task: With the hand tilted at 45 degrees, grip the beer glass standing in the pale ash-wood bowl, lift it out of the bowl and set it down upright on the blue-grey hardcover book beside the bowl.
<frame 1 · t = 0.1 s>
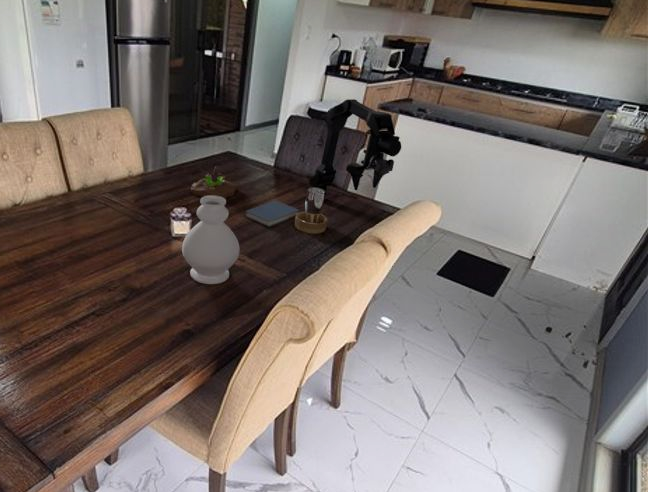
hand: (364, 188, 181), 15 cm above the table, tool pointing down, fingers open, 9 cm apart
wooden bowl: (310, 226, 183), on the table
plant: (214, 191, 210), on the table
book: (272, 215, 189), on the table
beer glass: (310, 227, 183), resting in wooden bowl
decorative vase: (209, 274, 147), on the table
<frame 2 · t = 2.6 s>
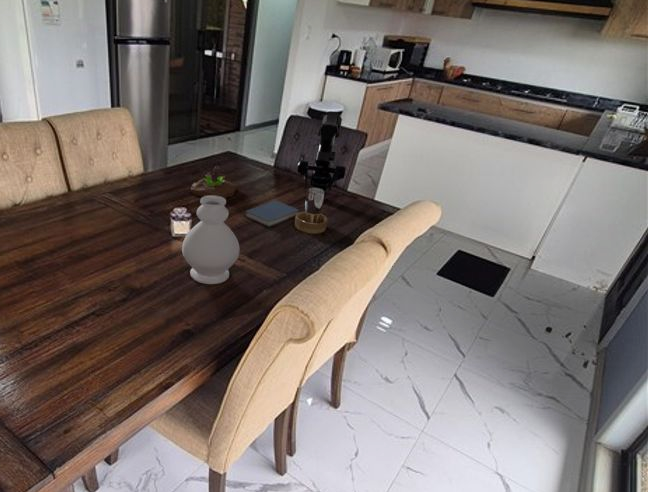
hand: (317, 188, 181), 13 cm above the table, tool tilted 45°, fingers open, 9 cm apart
nothing on the table moved.
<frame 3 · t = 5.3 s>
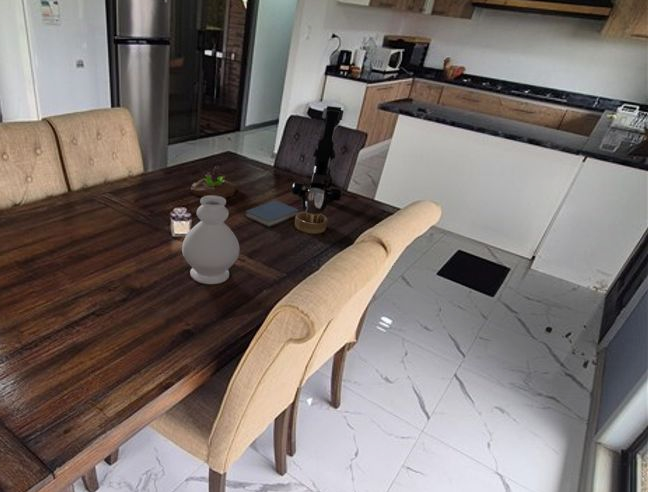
hand: (312, 211, 178), 7 cm above the table, tool tilted 45°, fingers closed on beer glass, 6 cm apart
beer glass: (310, 227, 183), resting in wooden bowl, touching gripper
everything else where it was.
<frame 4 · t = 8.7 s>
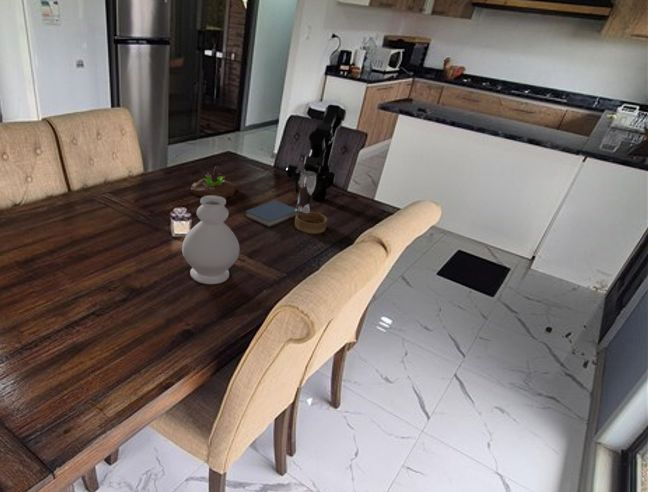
hand: (304, 194, 175), 13 cm above the table, tool tilted 45°, fingers closed on beer glass, 6 cm apart
beer glass: (302, 211, 181), point 6 cm above the table, touching gripper
everything else where it was.
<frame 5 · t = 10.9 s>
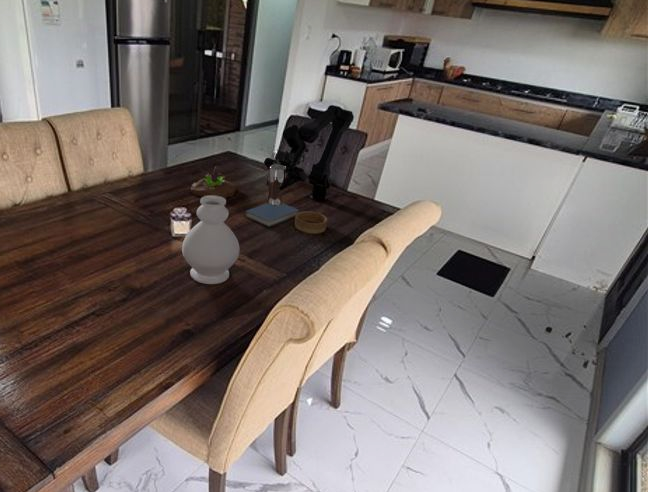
hand: (273, 187, 182), 13 cm above the table, tool tilted 45°, fingers closed on beer glass, 6 cm apart
beer glass: (274, 203, 187), point 5 cm above the table, touching gripper
everything else where it was.
when the fingers open (10 cm above the table, at t = 12.4 s): beer glass stays where it is, resting on book.
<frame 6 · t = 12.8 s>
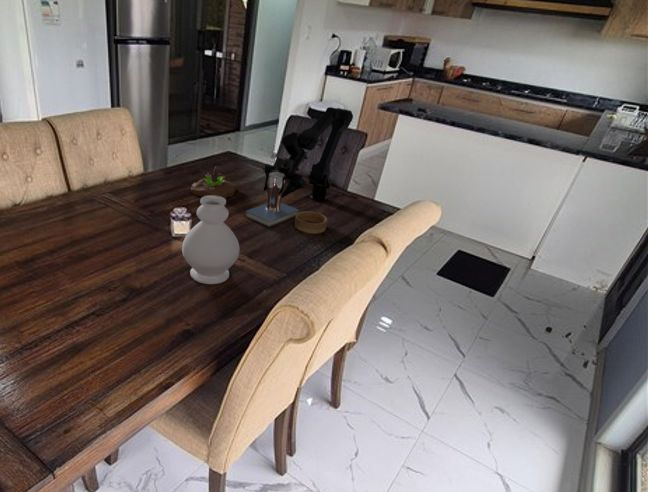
hand: (272, 193, 183), 10 cm above the table, tool tilted 45°, fingers open, 9 cm apart
beer glass: (273, 210, 188), point 2 cm above the table, touching book, gripper
everything else where it was.
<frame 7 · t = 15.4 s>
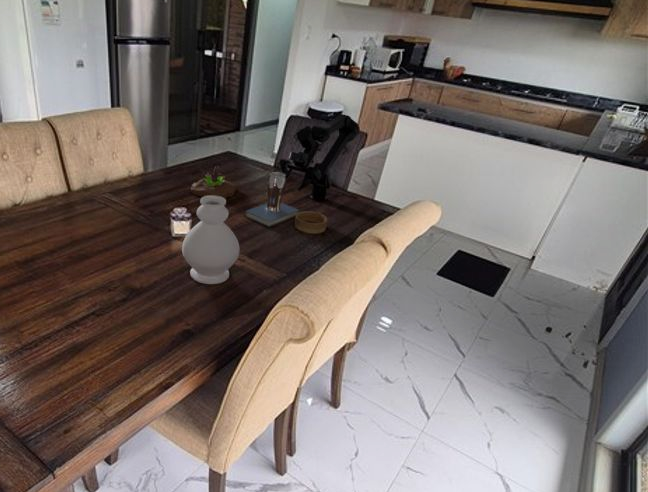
hand: (289, 187, 188), 11 cm above the table, tool tilted 40°, fingers open, 9 cm apart
beer glass: (273, 210, 188), point 2 cm above the table, touching book
everything else where it was.
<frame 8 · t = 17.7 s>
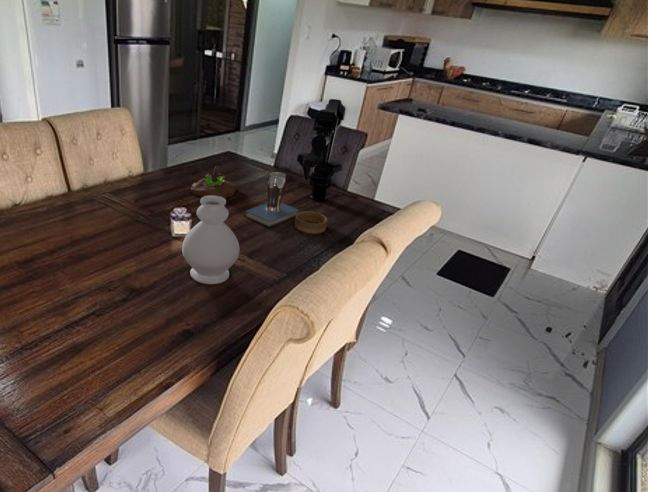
hand: (315, 183, 189), 12 cm above the table, tool pointing down, fingers open, 9 cm apart
nothing on the table moved.
at the end: beer glass moved 17.0 cm from its start; beer glass inside the target area on the book (0.2 cm from its centre), point 2.2 cm above the book's base; beer glass tilted 0° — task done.
